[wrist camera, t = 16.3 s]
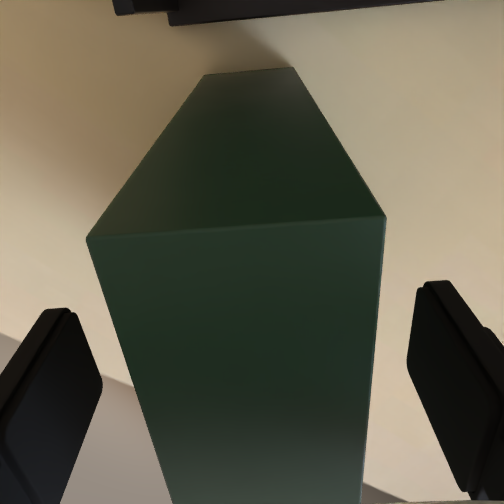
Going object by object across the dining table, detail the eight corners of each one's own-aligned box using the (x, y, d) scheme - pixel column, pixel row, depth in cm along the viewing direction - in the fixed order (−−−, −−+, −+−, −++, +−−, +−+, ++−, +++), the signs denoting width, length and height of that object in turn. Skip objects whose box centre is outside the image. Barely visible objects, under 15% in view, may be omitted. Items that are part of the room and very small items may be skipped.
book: (293, 66, 18) (387, 216, 5) (300, 276, 24) (352, 594, 11) (203, 74, 18) (82, 238, 5) (231, 281, 24) (203, 599, 11)
